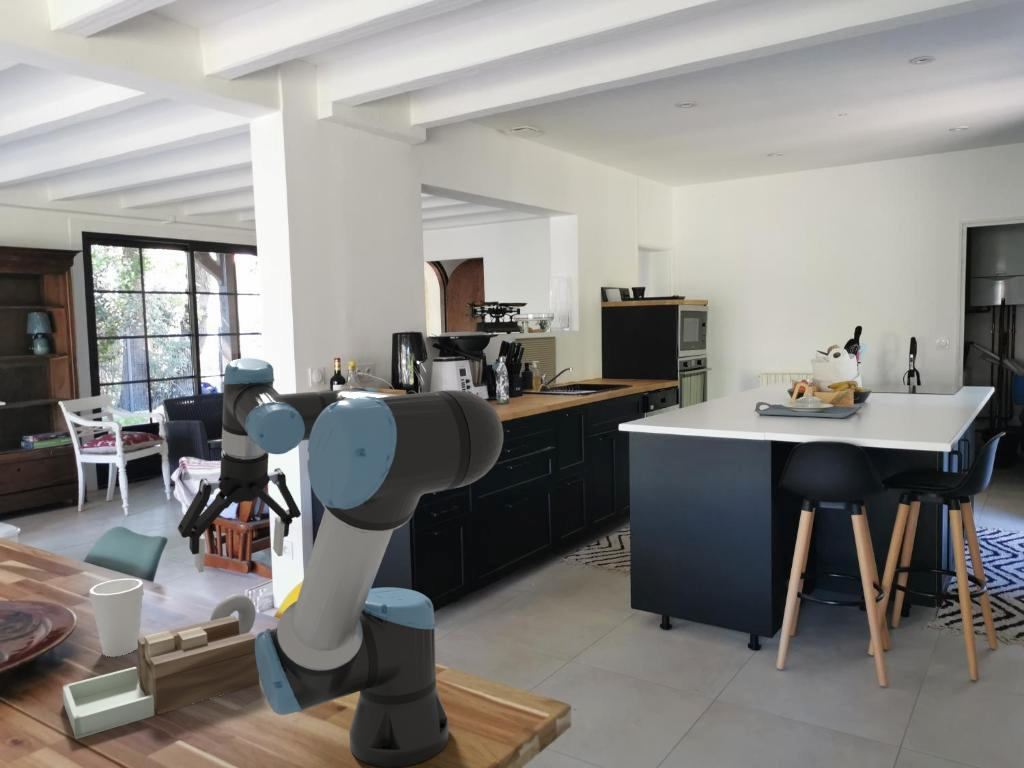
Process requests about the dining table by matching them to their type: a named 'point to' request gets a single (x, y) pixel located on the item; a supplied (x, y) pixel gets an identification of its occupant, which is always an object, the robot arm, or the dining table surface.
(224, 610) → the donut
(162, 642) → the tan wooden cube
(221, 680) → the slot board
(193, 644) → the beige wooden cube
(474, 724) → the dining table surface
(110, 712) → the tray
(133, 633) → the foam cup
